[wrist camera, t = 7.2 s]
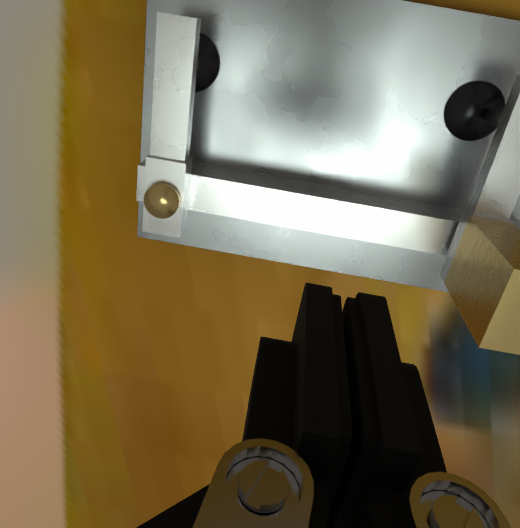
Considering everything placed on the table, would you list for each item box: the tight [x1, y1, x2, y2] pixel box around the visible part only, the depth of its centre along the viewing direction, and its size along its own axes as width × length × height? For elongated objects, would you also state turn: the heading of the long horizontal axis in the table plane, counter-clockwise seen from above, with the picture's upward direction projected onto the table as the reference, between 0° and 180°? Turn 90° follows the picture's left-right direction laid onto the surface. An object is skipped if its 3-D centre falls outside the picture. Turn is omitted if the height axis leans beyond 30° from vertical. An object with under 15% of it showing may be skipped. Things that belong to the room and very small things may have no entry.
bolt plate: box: [137, 0, 520, 292], centre depth 20 cm, size 12×18×5 cm, turn 81°
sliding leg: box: [440, 74, 520, 355], centre depth 17 cm, size 8×2×8 cm, turn 171°
